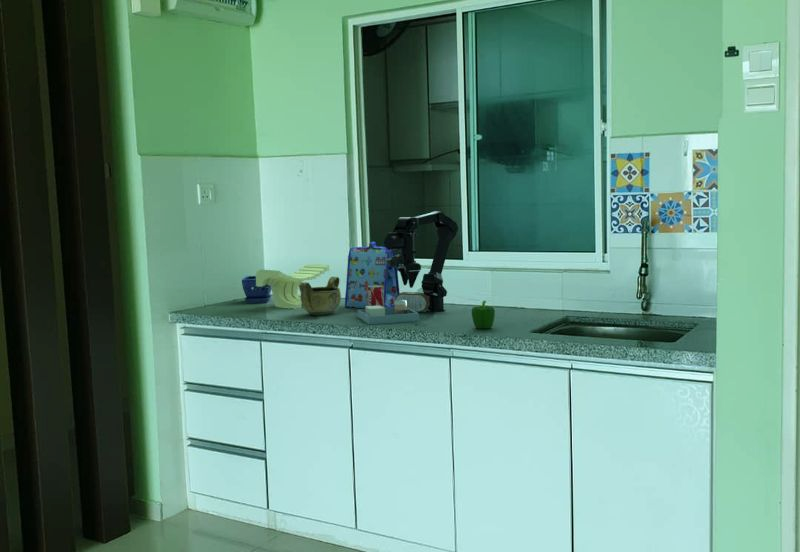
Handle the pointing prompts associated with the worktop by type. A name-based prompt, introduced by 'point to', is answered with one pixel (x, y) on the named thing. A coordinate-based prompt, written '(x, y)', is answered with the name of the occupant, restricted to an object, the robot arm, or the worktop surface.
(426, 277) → the robot arm
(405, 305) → the food can
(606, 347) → the worktop surface
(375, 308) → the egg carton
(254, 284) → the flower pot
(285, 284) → the slatted curved stool
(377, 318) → the teal tray
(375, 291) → the soda can
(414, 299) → the tin
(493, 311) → the bell pepper
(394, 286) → the lunch bag
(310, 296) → the ceramic bowl
